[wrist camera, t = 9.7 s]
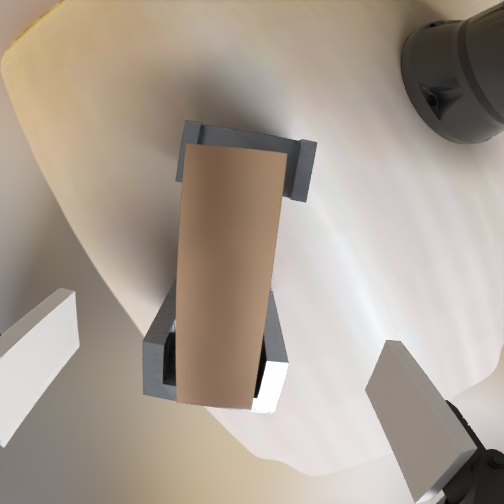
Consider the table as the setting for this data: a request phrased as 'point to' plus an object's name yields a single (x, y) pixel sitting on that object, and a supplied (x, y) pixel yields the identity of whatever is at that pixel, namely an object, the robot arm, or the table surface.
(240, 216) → the walnut rail
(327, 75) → the table surface
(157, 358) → the cup bracket stand
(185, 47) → the table surface
